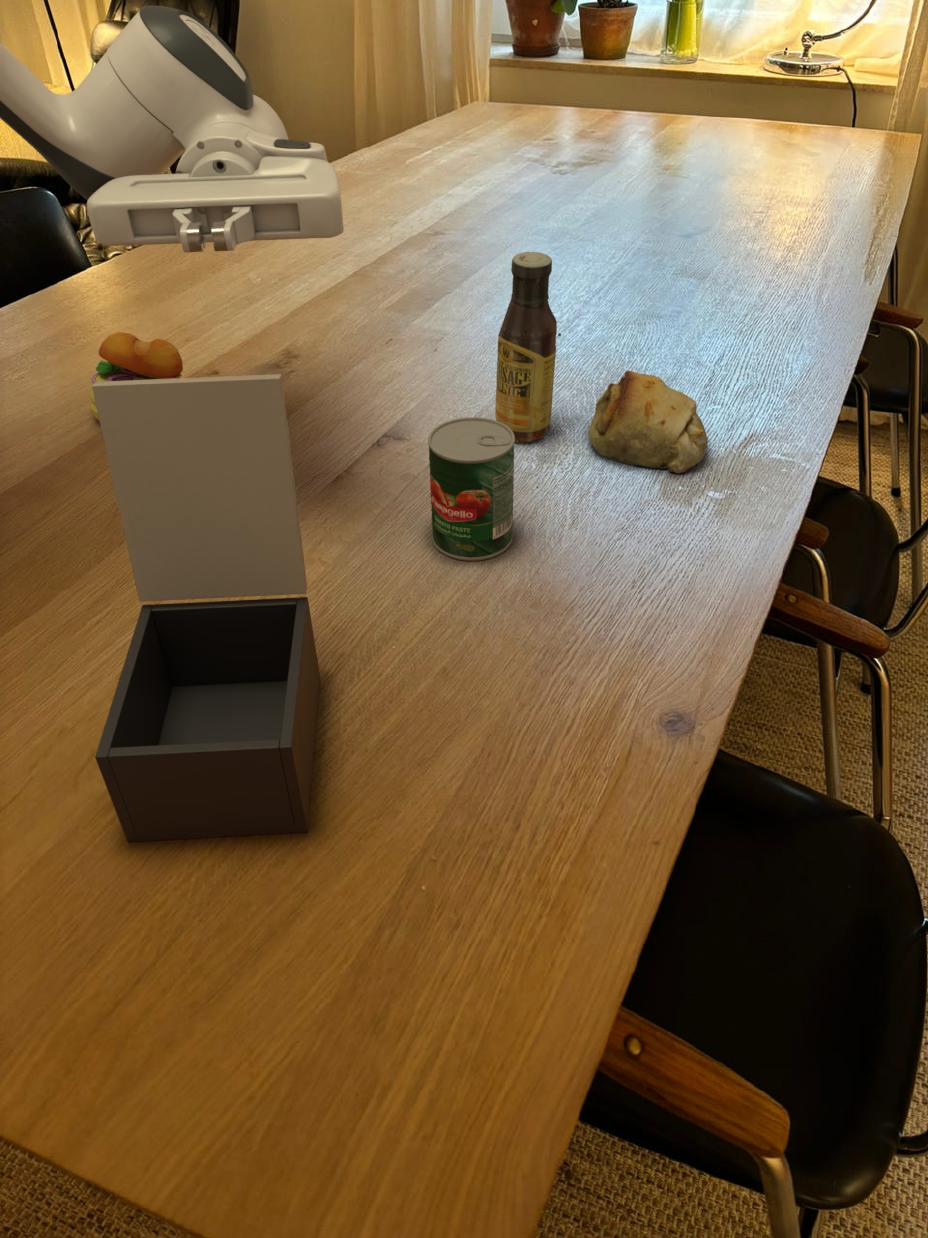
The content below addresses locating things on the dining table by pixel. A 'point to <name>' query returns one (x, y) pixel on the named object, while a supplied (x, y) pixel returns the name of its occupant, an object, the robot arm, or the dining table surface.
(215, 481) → the box lid
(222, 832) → the open box
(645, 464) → the pastry
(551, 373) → the sauce bottle
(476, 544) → the canned tomato
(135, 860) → the dining table surface
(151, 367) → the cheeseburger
